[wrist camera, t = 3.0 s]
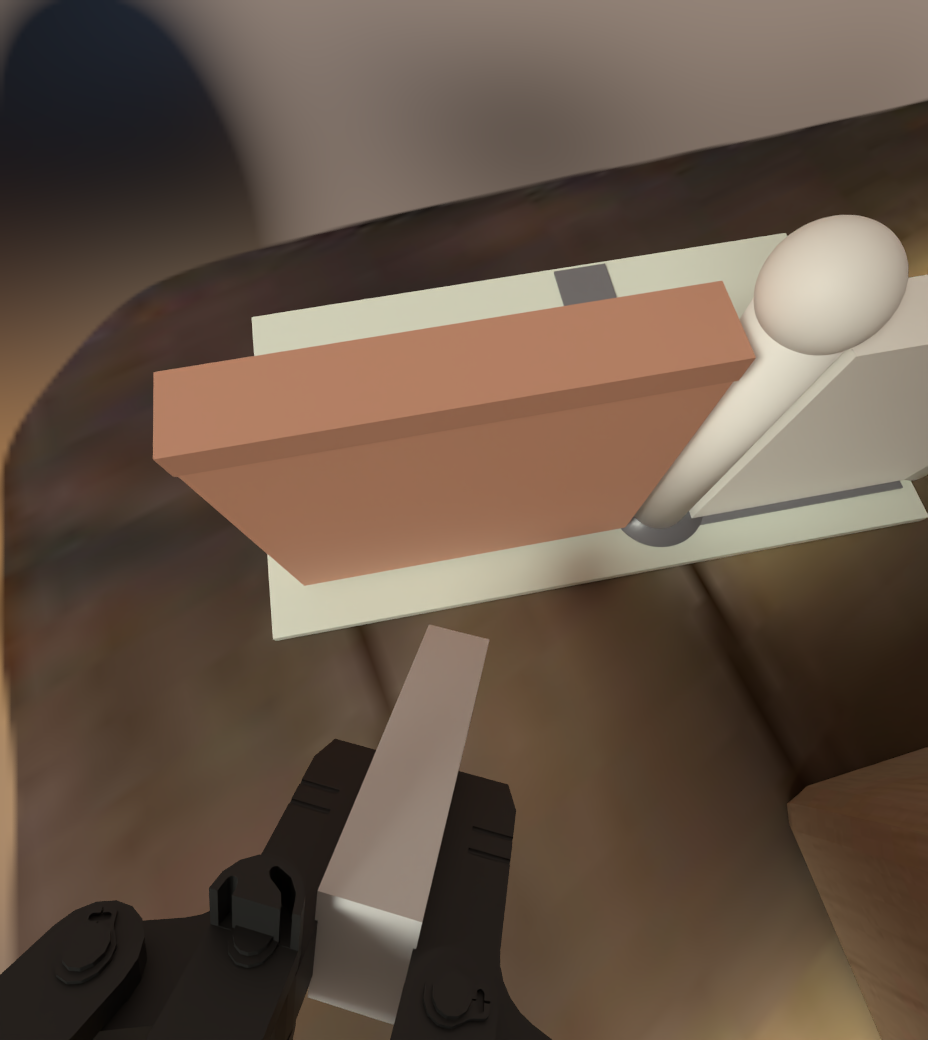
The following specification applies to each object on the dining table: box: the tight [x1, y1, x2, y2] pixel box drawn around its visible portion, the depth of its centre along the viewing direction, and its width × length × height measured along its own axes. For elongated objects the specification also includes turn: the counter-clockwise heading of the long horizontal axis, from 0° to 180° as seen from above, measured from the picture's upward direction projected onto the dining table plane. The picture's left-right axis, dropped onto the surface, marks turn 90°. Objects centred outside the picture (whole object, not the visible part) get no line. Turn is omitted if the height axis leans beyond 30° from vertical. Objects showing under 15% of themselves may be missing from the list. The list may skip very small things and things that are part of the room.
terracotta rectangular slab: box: [153, 281, 756, 586], centre depth 16 cm, size 12×2×10 cm, turn 101°
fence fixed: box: [634, 215, 928, 529], centre depth 16 cm, size 12×3×13 cm, turn 101°
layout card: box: [252, 233, 928, 641], centre depth 24 cm, size 25×14×1 cm, turn 100°
